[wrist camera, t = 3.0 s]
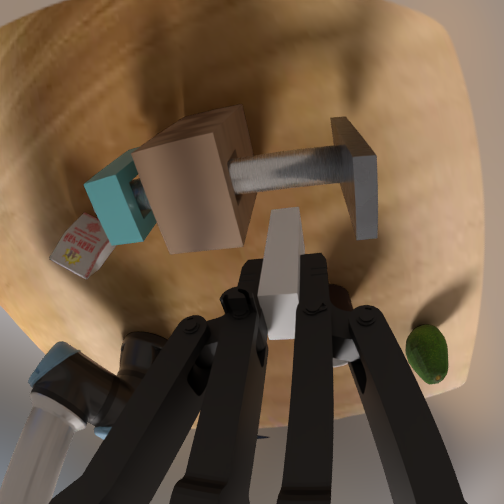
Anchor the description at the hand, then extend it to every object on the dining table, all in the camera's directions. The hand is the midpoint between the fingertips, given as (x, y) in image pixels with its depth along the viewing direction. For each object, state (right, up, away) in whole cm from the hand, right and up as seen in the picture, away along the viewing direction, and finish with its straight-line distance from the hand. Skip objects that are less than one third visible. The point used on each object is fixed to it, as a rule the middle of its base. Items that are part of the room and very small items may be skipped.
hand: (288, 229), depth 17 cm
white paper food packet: (-26, +2, +28) cm, 38 cm away
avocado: (+29, -15, +32) cm, 46 cm away
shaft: (-5, +8, +14) cm, 16 cm away
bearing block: (-6, +11, +18) cm, 22 cm away
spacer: (-14, +8, +17) cm, 23 cm away
